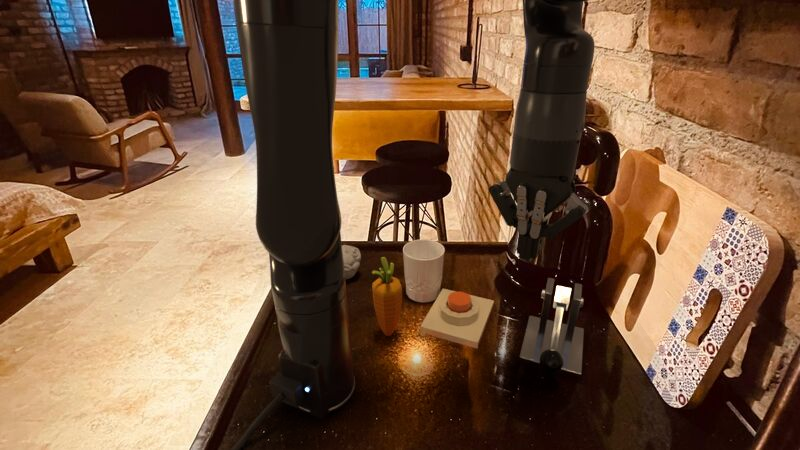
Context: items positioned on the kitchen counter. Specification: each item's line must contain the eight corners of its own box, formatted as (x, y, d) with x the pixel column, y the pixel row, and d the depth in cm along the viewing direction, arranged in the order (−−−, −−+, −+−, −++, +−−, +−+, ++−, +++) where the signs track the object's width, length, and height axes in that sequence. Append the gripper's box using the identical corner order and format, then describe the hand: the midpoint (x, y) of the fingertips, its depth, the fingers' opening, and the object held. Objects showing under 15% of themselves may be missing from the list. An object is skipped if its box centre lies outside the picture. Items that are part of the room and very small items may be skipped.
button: (467, 316, 69) (467, 307, 68) (444, 310, 70) (445, 302, 70) (473, 302, 72) (473, 294, 71) (451, 297, 74) (452, 289, 73)
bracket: (580, 380, 61) (595, 317, 56) (518, 362, 64) (528, 301, 59) (582, 333, 70) (596, 276, 64) (528, 320, 73) (537, 264, 68)
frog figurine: (368, 274, 87) (366, 245, 84) (345, 289, 82) (343, 260, 79) (347, 265, 91) (345, 237, 88) (324, 279, 86) (321, 250, 83)
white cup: (431, 309, 76) (432, 264, 72) (395, 296, 80) (394, 252, 75) (449, 288, 82) (451, 245, 78) (415, 277, 86) (415, 235, 81)
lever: (560, 378, 58) (562, 372, 55) (536, 371, 59) (538, 365, 56) (573, 296, 64) (575, 287, 61) (551, 292, 65) (553, 283, 62)
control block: (477, 352, 66) (479, 333, 64) (419, 336, 70) (420, 317, 68) (493, 309, 76) (495, 292, 74) (442, 297, 80) (442, 280, 78)
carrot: (399, 347, 67) (398, 271, 61) (370, 343, 68) (366, 268, 62) (405, 328, 72) (404, 254, 65) (378, 324, 73) (374, 252, 66)
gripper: (480, 127, 49) (470, 252, 56) (594, 146, 41) (565, 289, 48) (510, 117, 54) (497, 233, 61) (617, 132, 46) (587, 263, 53)
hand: (527, 258), depth 55 cm, fingers closed
